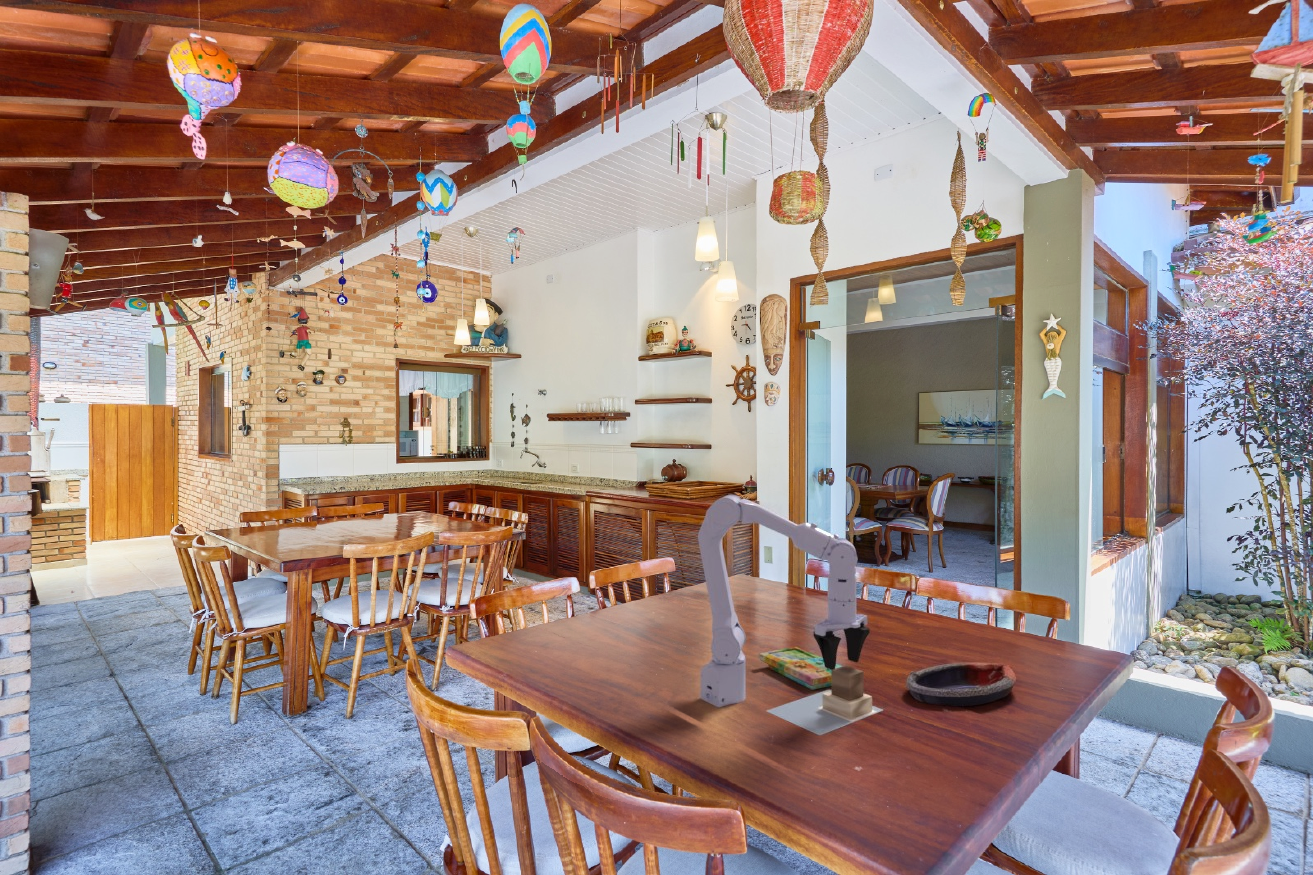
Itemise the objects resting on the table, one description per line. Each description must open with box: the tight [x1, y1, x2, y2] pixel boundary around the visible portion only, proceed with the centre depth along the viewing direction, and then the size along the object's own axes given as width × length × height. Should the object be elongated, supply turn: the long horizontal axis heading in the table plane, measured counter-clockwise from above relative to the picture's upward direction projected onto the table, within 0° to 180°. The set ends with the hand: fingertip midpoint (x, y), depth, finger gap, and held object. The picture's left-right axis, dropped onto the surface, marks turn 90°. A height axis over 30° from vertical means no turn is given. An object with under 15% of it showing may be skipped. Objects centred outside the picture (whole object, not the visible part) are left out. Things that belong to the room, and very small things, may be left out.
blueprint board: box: [765, 689, 884, 736], centre depth 134 cm, size 20×14×1 cm
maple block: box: [822, 691, 873, 720], centre depth 135 cm, size 7×7×3 cm
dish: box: [905, 662, 1017, 708], centre depth 146 cm, size 16×31×5 cm, turn 114°
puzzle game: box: [758, 646, 843, 690], centre depth 156 cm, size 12×5×20 cm
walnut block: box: [831, 665, 864, 701], centre depth 135 cm, size 4×4×5 cm
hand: (841, 664), depth 135 cm, fingers open, 7 cm apart
